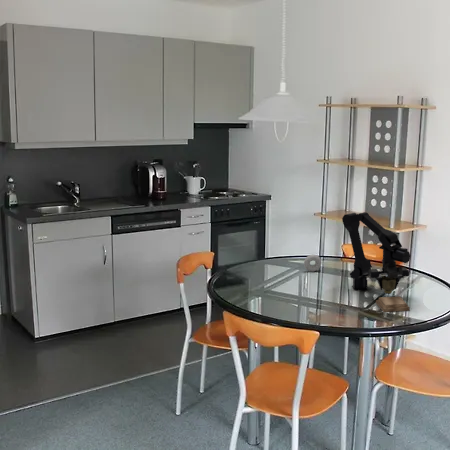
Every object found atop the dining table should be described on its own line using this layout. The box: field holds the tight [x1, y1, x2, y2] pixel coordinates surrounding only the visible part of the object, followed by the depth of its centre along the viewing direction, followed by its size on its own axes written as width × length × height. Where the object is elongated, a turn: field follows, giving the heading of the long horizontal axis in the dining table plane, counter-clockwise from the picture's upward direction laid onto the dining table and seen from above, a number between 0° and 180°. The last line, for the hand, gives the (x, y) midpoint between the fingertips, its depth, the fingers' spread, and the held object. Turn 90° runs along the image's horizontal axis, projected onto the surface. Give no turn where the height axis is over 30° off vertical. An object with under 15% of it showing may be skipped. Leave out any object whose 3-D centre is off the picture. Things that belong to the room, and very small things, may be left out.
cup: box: [381, 275, 396, 295], centre depth 283 cm, size 8×7×8 cm
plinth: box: [375, 296, 411, 313], centre depth 271 cm, size 12×12×3 cm
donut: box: [303, 254, 322, 273], centre depth 329 cm, size 10×4×10 cm, turn 97°
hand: (388, 289), depth 283 cm, fingers closed on cup, 6 cm apart
